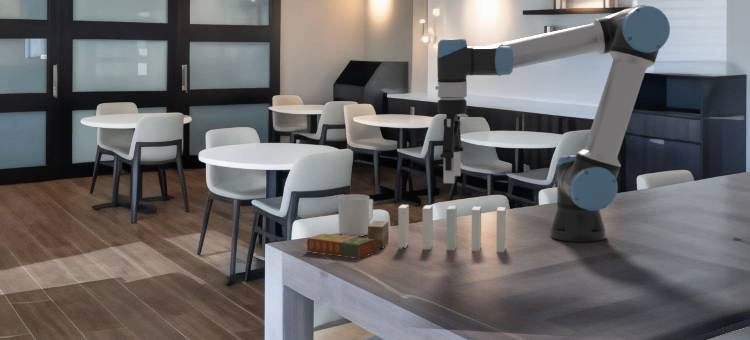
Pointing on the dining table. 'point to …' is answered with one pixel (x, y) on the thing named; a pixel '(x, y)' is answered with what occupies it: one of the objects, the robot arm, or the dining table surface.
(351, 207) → the mug
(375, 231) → the block
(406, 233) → the domino
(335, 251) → the carton
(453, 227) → the domino
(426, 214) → the domino
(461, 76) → the robot arm
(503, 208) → the domino
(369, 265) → the dining table surface
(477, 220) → the domino
